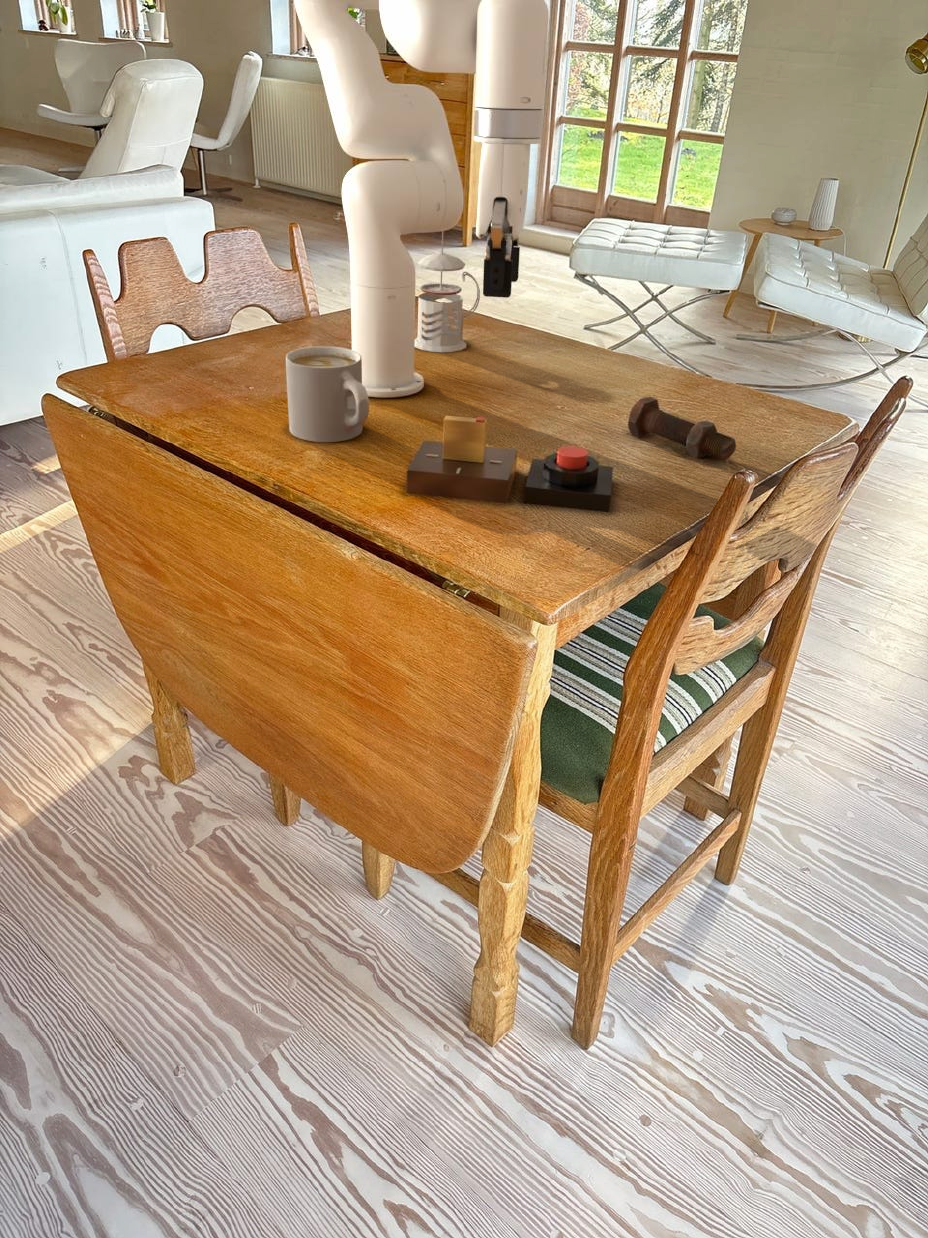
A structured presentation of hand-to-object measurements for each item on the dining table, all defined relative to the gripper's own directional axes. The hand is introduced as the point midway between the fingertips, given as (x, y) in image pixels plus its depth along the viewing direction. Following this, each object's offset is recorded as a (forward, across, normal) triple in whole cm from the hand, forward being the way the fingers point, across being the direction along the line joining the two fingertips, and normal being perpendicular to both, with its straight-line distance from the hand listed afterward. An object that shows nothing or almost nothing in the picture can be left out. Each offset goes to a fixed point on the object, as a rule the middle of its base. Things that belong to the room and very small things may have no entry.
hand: (501, 288), depth 114 cm
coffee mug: (+21, -4, -23) cm, 31 cm away
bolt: (+22, -10, +25) cm, 34 cm away
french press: (+20, -52, -14) cm, 57 cm away
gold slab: (+18, +9, -3) cm, 21 cm away
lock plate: (+22, +9, -3) cm, 23 cm away
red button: (+18, +9, +10) cm, 23 cm away
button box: (+22, +9, +10) cm, 26 cm away
